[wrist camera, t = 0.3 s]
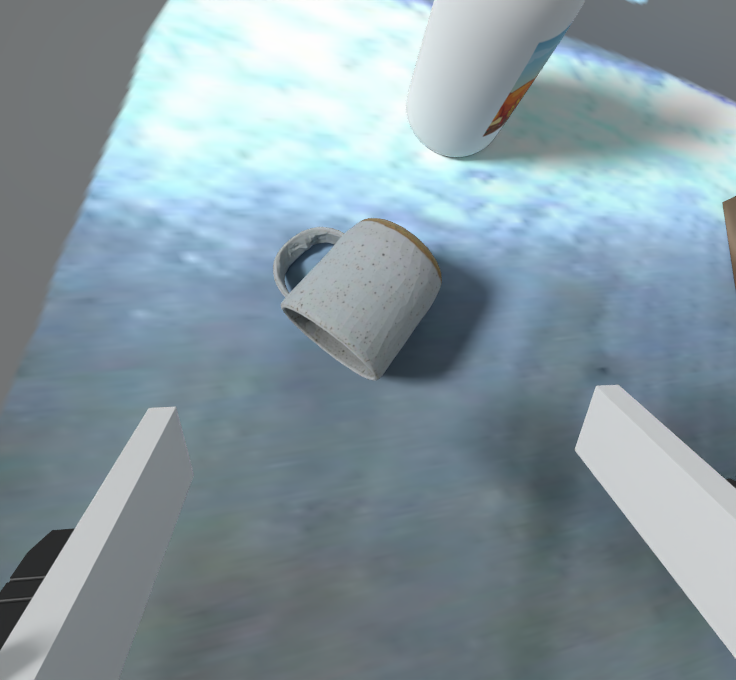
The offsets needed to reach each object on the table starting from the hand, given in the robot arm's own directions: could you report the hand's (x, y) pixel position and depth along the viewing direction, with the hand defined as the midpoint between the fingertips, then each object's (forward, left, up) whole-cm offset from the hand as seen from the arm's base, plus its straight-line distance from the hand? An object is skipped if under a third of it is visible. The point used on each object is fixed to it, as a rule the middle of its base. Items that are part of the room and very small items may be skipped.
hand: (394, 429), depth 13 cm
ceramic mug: (+8, +1, -16) cm, 18 cm away
